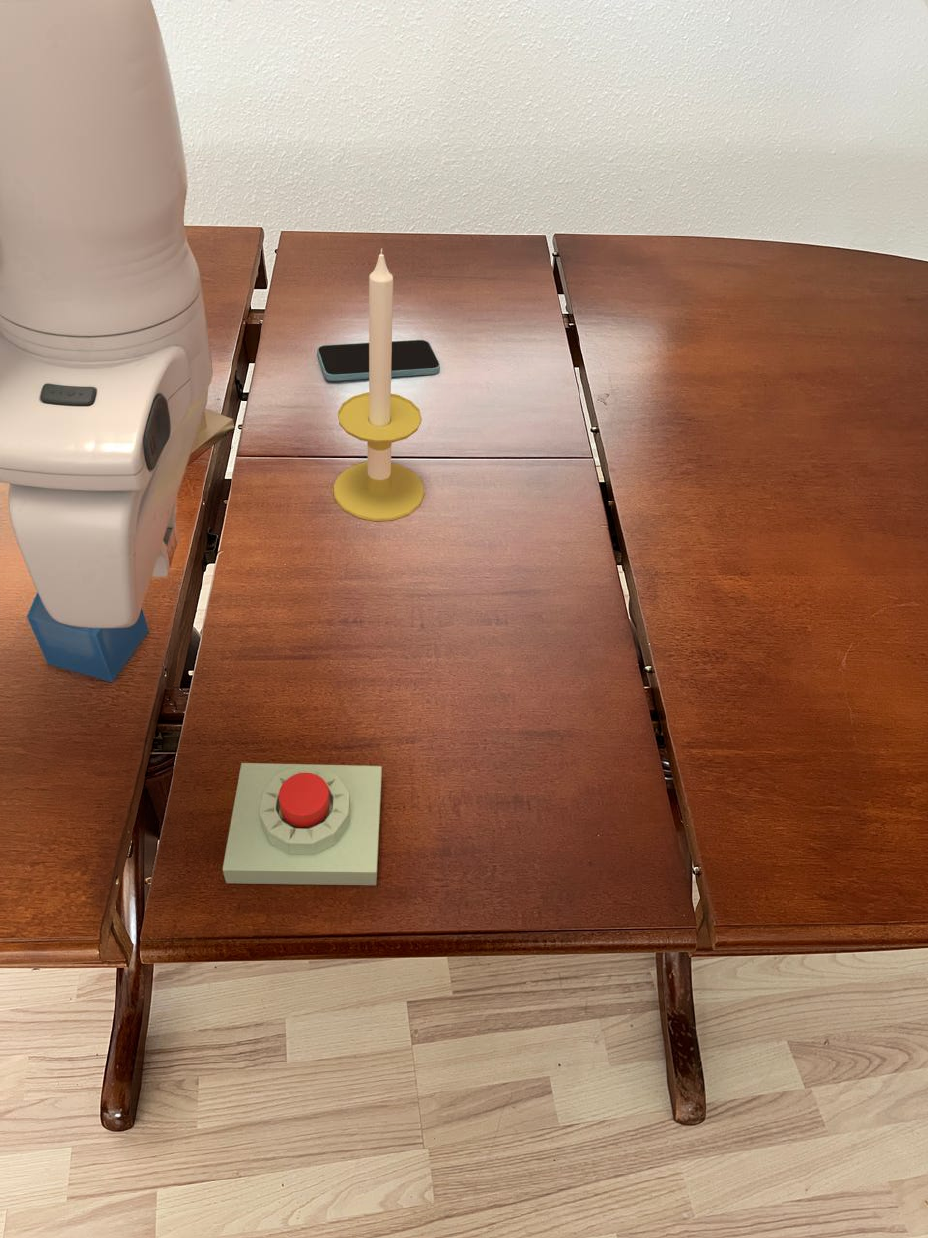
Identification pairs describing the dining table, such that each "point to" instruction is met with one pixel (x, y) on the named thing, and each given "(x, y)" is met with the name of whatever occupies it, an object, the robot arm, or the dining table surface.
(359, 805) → the control box
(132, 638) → the perfume bottle
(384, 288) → the candle
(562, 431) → the dining table surface
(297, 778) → the button
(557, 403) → the dining table surface
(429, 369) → the smartphone
